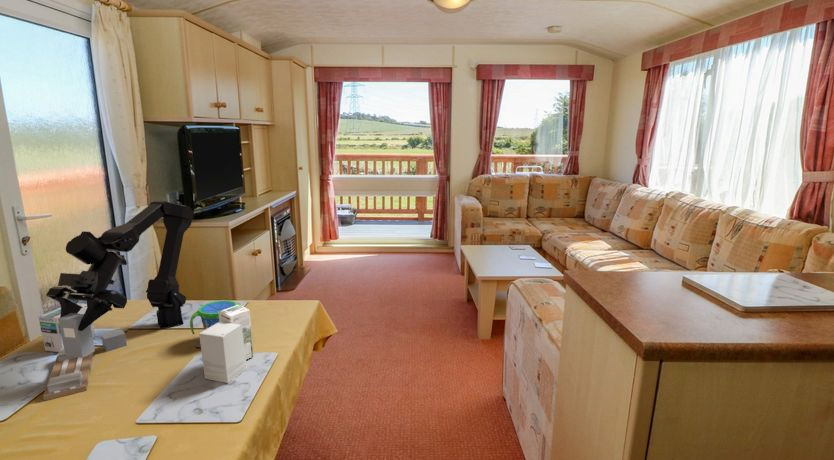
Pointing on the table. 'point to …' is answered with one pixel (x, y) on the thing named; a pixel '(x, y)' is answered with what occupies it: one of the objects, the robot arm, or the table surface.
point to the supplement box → (223, 351)
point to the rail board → (70, 370)
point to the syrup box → (242, 318)
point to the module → (75, 336)
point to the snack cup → (211, 313)
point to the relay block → (113, 340)
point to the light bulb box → (56, 328)
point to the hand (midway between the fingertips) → (70, 329)
